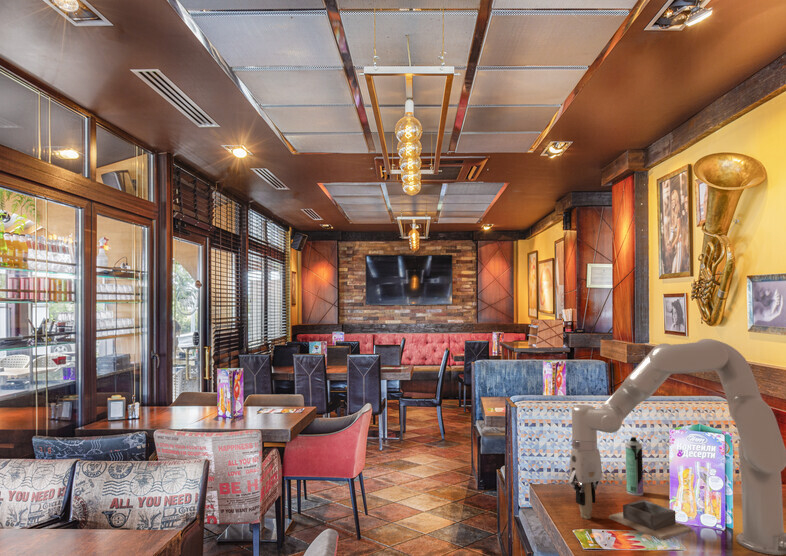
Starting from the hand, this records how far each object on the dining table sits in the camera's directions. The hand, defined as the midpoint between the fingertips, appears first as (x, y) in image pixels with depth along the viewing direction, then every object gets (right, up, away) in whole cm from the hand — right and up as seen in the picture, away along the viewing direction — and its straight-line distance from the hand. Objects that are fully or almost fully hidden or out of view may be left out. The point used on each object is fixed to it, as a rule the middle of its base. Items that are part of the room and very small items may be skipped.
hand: (585, 502), depth 171 cm
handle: (0, -5, 0) cm, 5 cm away
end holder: (+18, -4, -6) cm, 19 cm away
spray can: (+26, -6, +23) cm, 35 cm away
